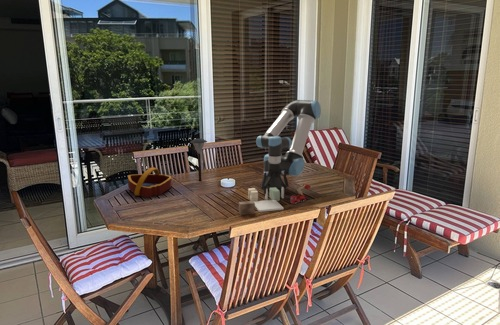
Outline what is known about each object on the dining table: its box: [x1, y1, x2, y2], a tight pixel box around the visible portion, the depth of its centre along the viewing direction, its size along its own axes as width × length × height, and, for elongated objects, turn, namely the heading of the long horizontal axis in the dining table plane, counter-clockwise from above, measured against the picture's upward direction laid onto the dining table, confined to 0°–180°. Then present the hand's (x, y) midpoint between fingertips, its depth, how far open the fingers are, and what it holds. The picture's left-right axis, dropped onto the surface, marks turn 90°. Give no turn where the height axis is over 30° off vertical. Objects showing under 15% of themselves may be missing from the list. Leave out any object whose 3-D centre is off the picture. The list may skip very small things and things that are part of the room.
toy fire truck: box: [289, 183, 311, 205], centre depth 217 cm, size 3×14×10 cm, turn 126°
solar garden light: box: [189, 138, 208, 182], centre depth 261 cm, size 12×12×30 cm
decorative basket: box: [127, 166, 172, 198], centre depth 242 cm, size 34×29×15 cm
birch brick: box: [247, 187, 259, 202], centre depth 222 cm, size 8×4×6 cm, turn 14°
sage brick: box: [268, 187, 281, 202], centre depth 223 cm, size 8×4×6 cm, turn 14°
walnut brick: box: [238, 200, 256, 216], centre depth 200 cm, size 8×4×6 cm, turn 104°
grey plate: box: [254, 199, 284, 213], centre depth 210 cm, size 15×14×1 cm
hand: (274, 198), depth 224 cm, fingers open, 10 cm apart
